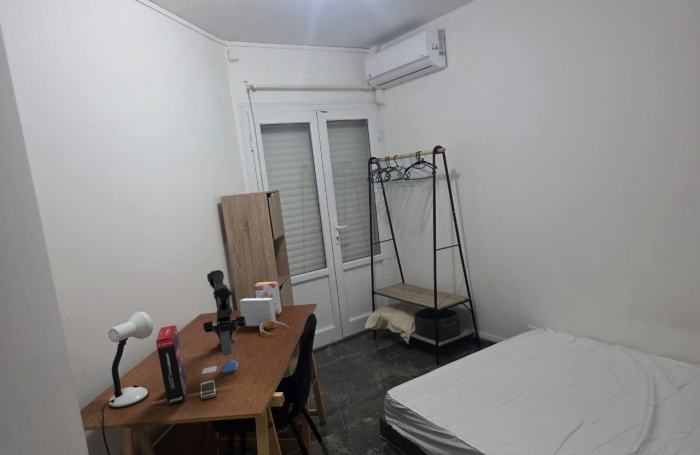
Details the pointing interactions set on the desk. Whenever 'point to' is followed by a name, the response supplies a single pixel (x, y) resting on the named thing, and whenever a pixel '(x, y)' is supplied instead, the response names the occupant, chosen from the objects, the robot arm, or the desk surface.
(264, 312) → the skincare box
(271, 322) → the sunglasses
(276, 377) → the desk surface
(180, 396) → the graphics card box
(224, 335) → the tall grey square pillar
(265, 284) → the cracker box
